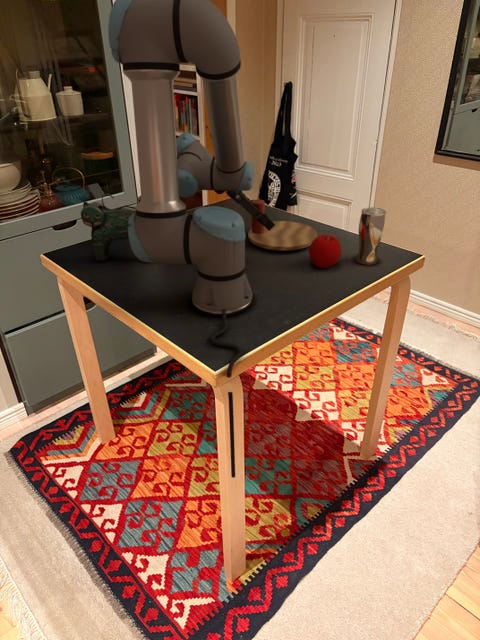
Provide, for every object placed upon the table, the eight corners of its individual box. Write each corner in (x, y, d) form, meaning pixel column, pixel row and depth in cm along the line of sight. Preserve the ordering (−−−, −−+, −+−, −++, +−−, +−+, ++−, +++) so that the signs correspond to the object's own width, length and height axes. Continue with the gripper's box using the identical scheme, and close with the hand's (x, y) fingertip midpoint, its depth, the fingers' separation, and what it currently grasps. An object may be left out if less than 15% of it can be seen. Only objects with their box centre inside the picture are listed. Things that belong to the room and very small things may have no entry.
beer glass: (365, 253, 141) (372, 205, 133) (383, 261, 136) (392, 211, 128) (349, 259, 138) (355, 210, 130) (367, 267, 133) (375, 217, 125)
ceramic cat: (89, 262, 139) (75, 195, 128) (97, 253, 144) (84, 189, 133) (153, 264, 137) (145, 197, 126) (159, 255, 142) (152, 190, 131)
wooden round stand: (318, 226, 157) (321, 193, 151) (314, 252, 139) (317, 216, 133) (254, 222, 161) (254, 190, 155) (242, 248, 143) (242, 212, 137)
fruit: (335, 274, 130) (338, 240, 124) (304, 268, 133) (306, 235, 128) (343, 261, 137) (346, 228, 131) (313, 256, 140) (316, 224, 135)
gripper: (233, 175, 129) (286, 225, 141) (218, 158, 145) (267, 204, 157) (215, 196, 131) (269, 243, 143) (202, 177, 147) (252, 221, 159)
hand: (268, 223), depth 150 cm, fingers open, 7 cm apart
